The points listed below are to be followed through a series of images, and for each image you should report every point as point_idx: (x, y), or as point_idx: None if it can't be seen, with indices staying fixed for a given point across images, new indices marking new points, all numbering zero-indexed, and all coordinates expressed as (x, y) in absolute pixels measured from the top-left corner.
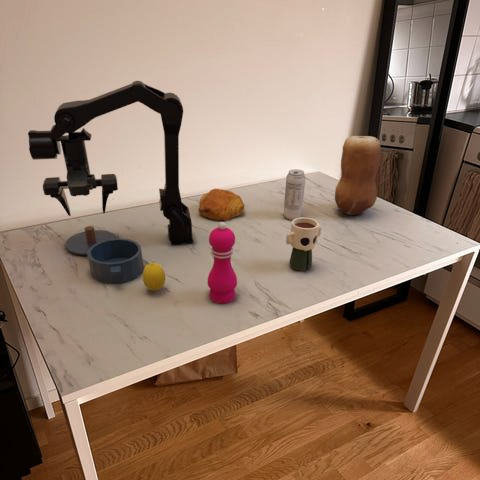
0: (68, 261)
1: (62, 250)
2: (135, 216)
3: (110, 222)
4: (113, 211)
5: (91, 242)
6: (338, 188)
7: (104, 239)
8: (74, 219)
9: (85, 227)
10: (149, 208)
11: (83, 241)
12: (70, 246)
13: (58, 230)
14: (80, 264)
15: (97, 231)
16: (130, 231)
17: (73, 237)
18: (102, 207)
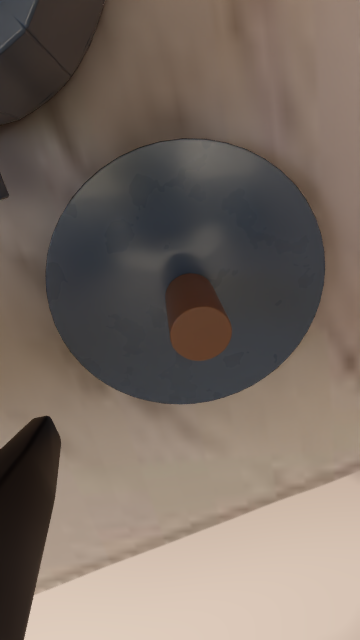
0: (292, 80)
1: (332, 226)
2: (60, 519)
3: (150, 474)
4: (159, 539)
5: (185, 275)
6: None
7: (124, 317)
8: (296, 482)
9: (226, 341)
10: None
11: (233, 293)
12: (296, 235)
13: (355, 406)
14: (212, 28)
15: (180, 391)
16: (35, 415)
17: (289, 333)
18: (13, 466)
